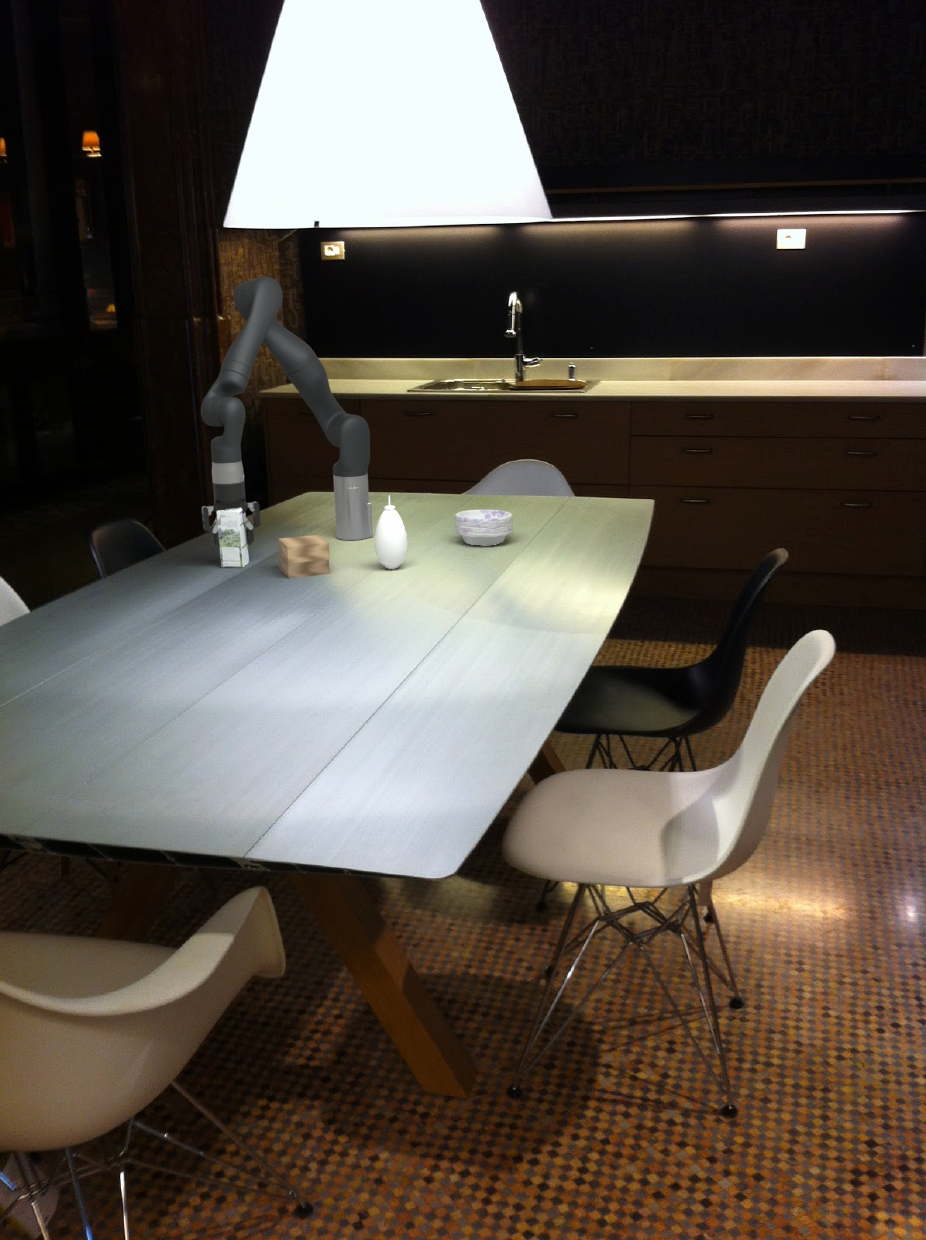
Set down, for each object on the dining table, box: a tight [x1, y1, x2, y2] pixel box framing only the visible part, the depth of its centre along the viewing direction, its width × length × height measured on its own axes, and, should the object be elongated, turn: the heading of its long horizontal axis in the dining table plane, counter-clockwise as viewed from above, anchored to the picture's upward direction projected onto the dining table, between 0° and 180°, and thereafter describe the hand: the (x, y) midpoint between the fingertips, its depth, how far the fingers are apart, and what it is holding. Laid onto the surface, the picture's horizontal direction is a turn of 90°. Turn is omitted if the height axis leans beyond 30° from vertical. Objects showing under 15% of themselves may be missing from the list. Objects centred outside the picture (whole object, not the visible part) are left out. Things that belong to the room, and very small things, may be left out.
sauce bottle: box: [374, 495, 408, 570], centre depth 279 cm, size 8×8×18 cm
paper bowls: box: [454, 509, 514, 546], centre depth 306 cm, size 15×15×8 cm
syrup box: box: [216, 508, 250, 569], centre depth 286 cm, size 6×6×14 cm
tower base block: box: [277, 554, 331, 579], centre depth 280 cm, size 10×10×4 cm
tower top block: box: [278, 534, 331, 563], centre depth 279 cm, size 10×10×4 cm
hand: (233, 545), depth 287 cm, fingers closed on syrup box, 7 cm apart
